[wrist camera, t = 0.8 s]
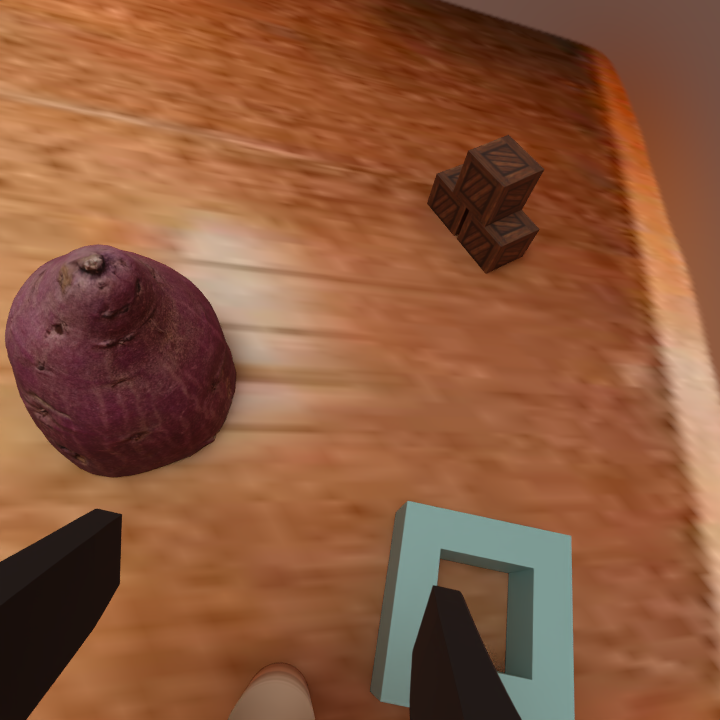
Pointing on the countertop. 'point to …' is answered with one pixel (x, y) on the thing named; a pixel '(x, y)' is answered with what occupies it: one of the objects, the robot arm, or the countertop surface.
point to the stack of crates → (489, 202)
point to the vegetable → (119, 360)
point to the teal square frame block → (524, 614)
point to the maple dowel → (275, 696)
